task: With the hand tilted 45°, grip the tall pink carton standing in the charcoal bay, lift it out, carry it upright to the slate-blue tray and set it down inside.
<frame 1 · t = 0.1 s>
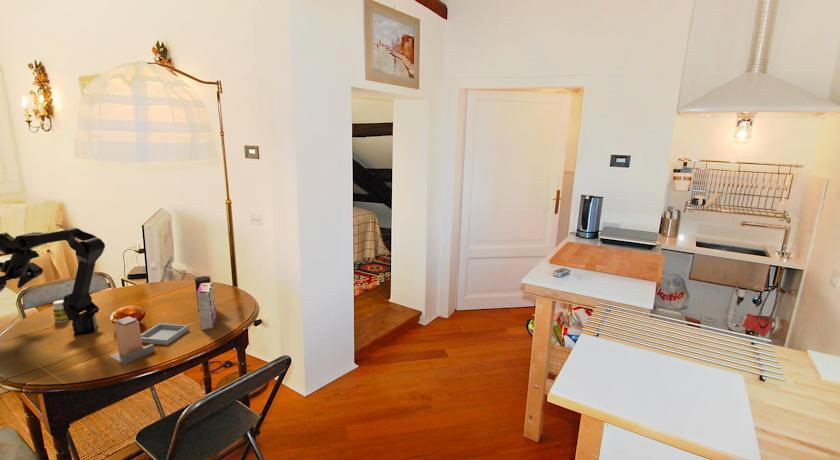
hand: (6, 291, 162), 15 cm above the table, tool tilted 35°, fingers open, 9 cm apart
supplement bottle: (62, 320, 172), on the table
candy bar box: (208, 324, 172), on the table
tray: (163, 336, 160), on the table
bay: (131, 354, 147), on the table
tall pink carton: (131, 353, 147), resting on bay
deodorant: (205, 310, 186), on the table
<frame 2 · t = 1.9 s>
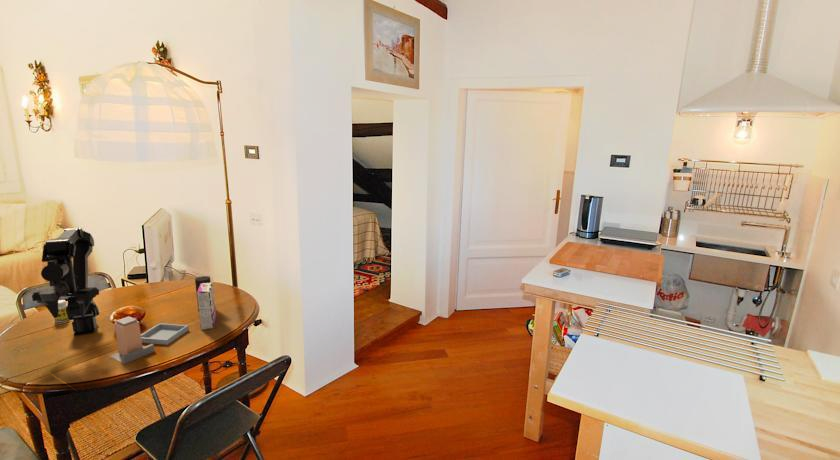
hand: (69, 317, 147), 13 cm above the table, tool pointing down, fingers open, 9 cm apart
nothing on the table moved.
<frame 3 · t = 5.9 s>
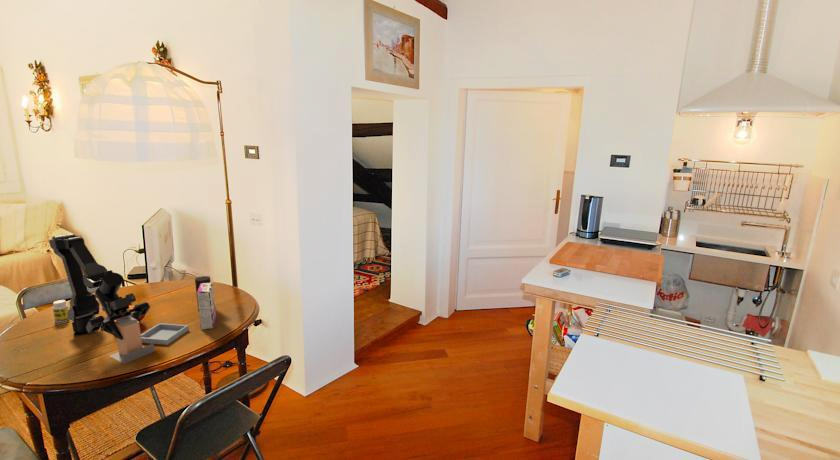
hand: (130, 336, 145), 7 cm above the table, tool tilted 45°, fingers closed on tall pink carton, 5 cm apart
tall pink carton: (131, 353, 147), resting on bay, touching gripper
everything else where it was.
when the fingers open (8 cm above the table, at t = 9.6 s): tall pink carton stays where it is, resting on tray.
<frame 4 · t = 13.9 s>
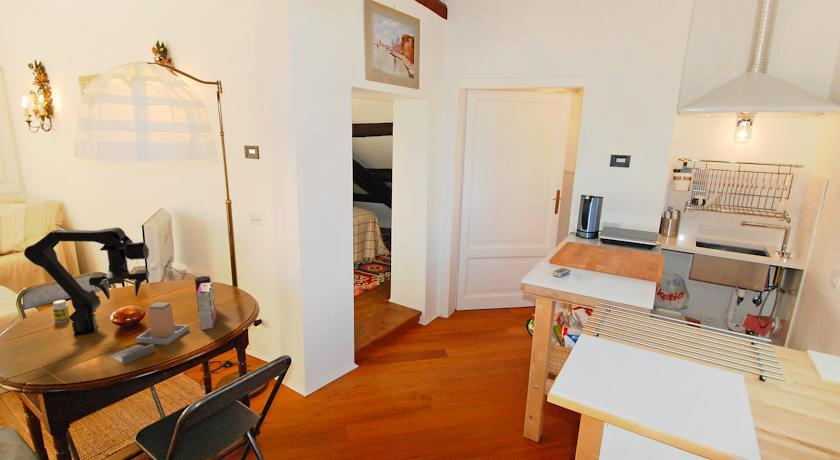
hand: (123, 297, 164), 13 cm above the table, tool pointing down, fingers open, 9 cm apart
tall pink carton: (163, 335, 160), point 1 cm above the table, touching tray
everything else where it was.
at the end: tall pink carton inside the target area on the tray (0.0 cm from its centre), point 0.6 cm above the tray's base; tall pink carton tilted 0°; the gripper is holding nothing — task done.
